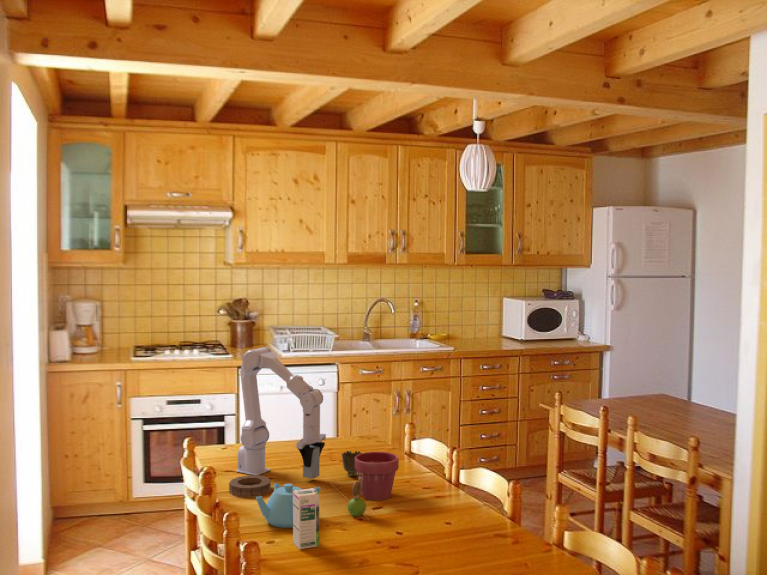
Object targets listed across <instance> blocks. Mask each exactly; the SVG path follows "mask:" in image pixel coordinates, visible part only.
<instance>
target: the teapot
mask: <svg viewBox="0 0 767 575" xmlns="http://www.w3.org/2000/svg"><path fill="white" fill-rule="evenodd" d="M313 489H315V490H316V491H317V492H318V493H319V494H320V492H321V487H320V486H317V487H316V486H315V487H314V488H313ZM294 490H303V489H302V487H299V486H295V485H294V484H293V483H285V484H283V486H280V483H273V492H272V493H271V495H270V497H269V498H268V500H267V503H266V501H265V500H264V498H263V496H256V497H255V500H256V502H257V504H258V508H259V510H260V512H261V515H262V517H264V518H265V520H266V521H267V522H268V524H270V525H271V526H272V527H276V528H280V529H281V528H282V529H290V528H291V529H293V491H294Z"/></svg>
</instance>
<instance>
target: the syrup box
mask: <svg viewBox="0 0 767 575" xmlns="http://www.w3.org/2000/svg"><path fill="white" fill-rule="evenodd" d="M292 533H293V534H292V539H293V541H292V542H293V543H294V545H295V546H296V548H298V549H299V550H304V549H309V548H310V549H311V548H317V547H320V493H318V492H317V491H316V490H315V489H314V488H313V487H311V488H306V489H302V490H294V491H293V528H292Z"/></svg>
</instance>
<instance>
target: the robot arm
mask: <svg viewBox="0 0 767 575" xmlns="http://www.w3.org/2000/svg"><path fill="white" fill-rule="evenodd" d="M241 362H242V363H241V366H240V371H239V373H240V383H241V384H240V385H241V391H242V400H243V401H242V402H243V409H244V417H245V418H244V419H245V421H244V423H243V425H242V426H241V435H240V443H241V446H240V447H239V448H238V452H237V469H236V470H235V472H236V473H240V474H241V473H242V474H247V475H249V476H261V475H262V474H264V473H265V474H266V473H267V472H270V471H271V469H270V468H268V467H266V445H267V443H268V441H269V440H270V439H269V438H270V431H269V429H268V426H267V422H266V421H265V420H264V419H263V418H262V412H261V404H260V403H261V402H260V396H259V388H258V377H257V375H258V373H260V371H261V370H262V369H267V370H268V369H269V370H271V371H272V372H273V373H274V374H276V375H277V376H278V377H279V378H281V379H282V380H283V381H284V382H285V383H286V388H287V389H288V390H289V391H290V393H292V394H293V395H294V396H295V397H296V398H297V399H299V404H300V406H301V408H302V412H303V414H302V415H303V416H302V419H303V420H302V421H303V422H302V424H303V425H302V429H303V430H302V433H303V434H302V438H301V439H299V441H297V442H295V443H296V445H295V446H296V449H297V450H298V451H299V453H300V455H301V458H302V463H303V462H304V466H305V467H310V466H311V459H312V453H313V450H314V448H312V447H310V445H311V446H317V447H320V455H321V453H322V452H323V449H324V447H325V446H326V445H325V444H326V442H324V441H325V440H327V438H326V436H327V434H325V433H321V405H322V403H323V401H324V394H323V392H321V390H320V389H318V388H314V387H313V386H311V385H310V384H308V383H307V382H306V381H305V380H304V377H303V376H302V375H298V374H296V375H295V374H293V373H292V372H291V371H290V370H289V369H288V368H287V367H286V366H285V365H284V363H282V361H281V360H280V359H279V358H278V357H277V355H276V353H275V352H274V351H272V349H270V347H268V346H263V347H259V348H255V349H249V350H246V352H245V353H244V354H243V355H242V356H241Z"/></svg>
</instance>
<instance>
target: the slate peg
mask: <svg viewBox="0 0 767 575" xmlns="http://www.w3.org/2000/svg"><path fill="white" fill-rule="evenodd" d="M310 447H312V448H314V450H313V453H312V459H311V466H310V467H305V466H304V462H303V461H302V477H303V478H307V479H312V480H313V479H315V478H318V477H320V458H321V454H320V447H317V446H311V445H310Z"/></svg>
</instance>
